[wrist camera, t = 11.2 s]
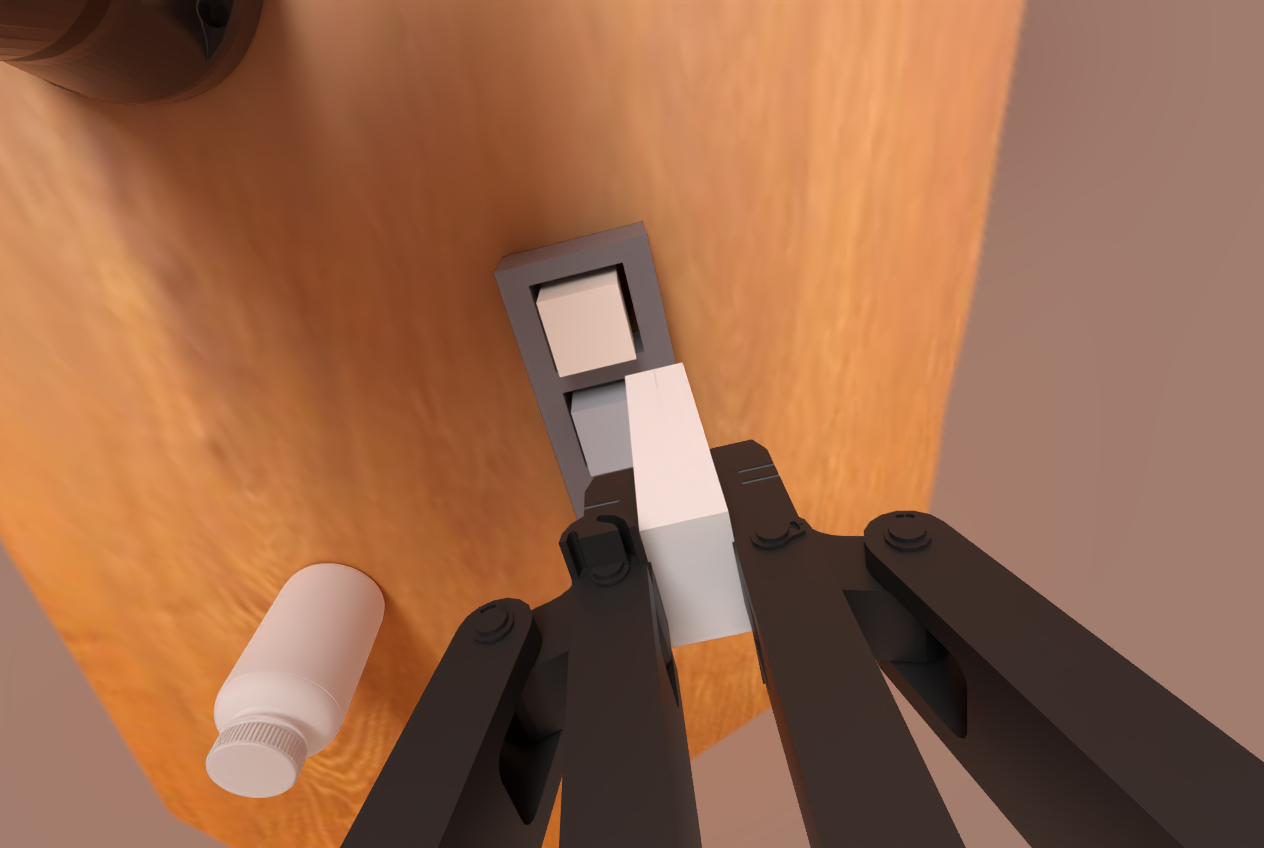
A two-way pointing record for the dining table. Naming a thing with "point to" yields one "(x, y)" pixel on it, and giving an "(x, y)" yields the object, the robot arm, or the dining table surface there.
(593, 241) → the grey slotted block holder
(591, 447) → the slate key
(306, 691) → the pill bottle
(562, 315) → the ivory key
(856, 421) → the dining table surface
